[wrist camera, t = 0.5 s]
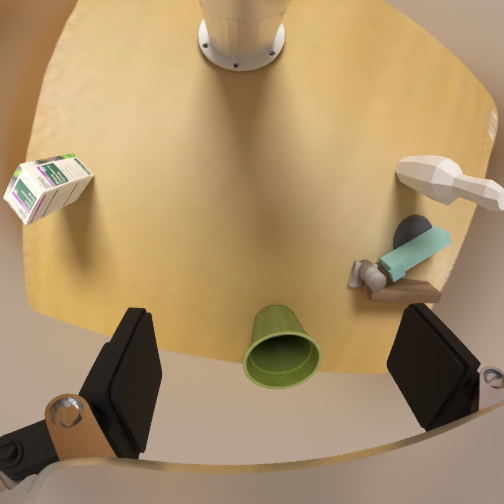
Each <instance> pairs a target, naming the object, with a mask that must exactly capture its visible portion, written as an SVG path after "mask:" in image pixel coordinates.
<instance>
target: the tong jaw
mask: <svg viewBox="0 0 504 504" xmlns="http://www.w3.org/2000/svg"><path fill="white" fill-rule="evenodd" d="M450 243H451V239H450V233H448V232H447V231H445V230H443V229H441V228H439V227H437V226H435V227H433V228H431V229H430V230H428V231H426V232H424V233H423V234H421V235H419V236H418V237H416V238H414V239H412V240H411V241H409V242H407V243H405V244H404V245H402V246H400V247H398V248H397V249H395V250H393V251H391V252H389V253H388V254H386V255H384V256H382V257H380V261H381V264H382V267H383V268H384V269H385V270H386V271H387V272H388V273H389V275H390V279H391V280H392V281H393V282H395V281H396V280H398V279H400V278H402V277H403V276H405V275H406V274H405V271H407V270H408V269H410V268H412V267H413V266H415V265H417V264H418V263H420V262H422V261H423V260H425V259H427V258H428V257H430V256H431V255H433V254H435V253H436V252H438V251H439V250H441V249H443V248H444V247H446V246H447V245H449V244H450Z"/></svg>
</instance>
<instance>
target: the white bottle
mask: <svg viewBox="0 0 504 504" xmlns="http://www.w3.org/2000/svg"><path fill="white" fill-rule="evenodd" d="M395 172H396V175H397V177H398V179H399V181H400V182H402V183H404V184H405V185H407V186H409V187H411V188H412V189H414V190H416V191H418V192H419V193H421V194H423V195H425V196H427V197H429V198H430V199H433V200H435V201H438V202H440V203H443V204H445V205H449V204H451V203H452V202H453V201H454V200H456V199H457V198H458V197H462V198H464V199H467V200H470V201H473V202H475V203H477V204H479V205H481V206H483V207H484V208H486V209H488V210H490V211H503V210H504V189H503V188H502V187H501V186H499V185H498V184H497V183H495V182H494V181H493V180H488V179H480V178H474V177H470V176H466V175H463V173H462V171H461V169H460V167H459V165H457V164H456V163H454V162H453V161H452V160H450V159H449V158H446V157H440V156H434V155H422V156H409V157H405V158H403V159H402V160H400V161H399V162H398V165H397V168H396V171H395Z"/></svg>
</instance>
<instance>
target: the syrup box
mask: <svg viewBox="0 0 504 504" xmlns="http://www.w3.org/2000/svg"><path fill="white" fill-rule="evenodd" d="M93 176H94V175H93V174H92V173H91V172H90V170H89V169H88V168H87V167H86V166H85V165H84V164H83V163H82V162H81V161H80V160H79V159H78V158H77V157H76V156H75V154H68V155H62V156H57V157H51V158H46V159H41V160H37V161H32V162H27V163H24V164H20V165H19V166H18V168H17V169H16V171H15V173H14V175H13V177H12V179H11V181H10V183H9V185H8V188H7V190H6V193H5V195H4V199H5V200H6V201H7V202H8V203H9V205H10V206H11V207H12V209H13V210H14V211H15V213H16V214H17V215H18V216H19V218H20V219H21V220H22V221H23V222H24V224H25V225H26V226H28V225H30V224H32V223H34V222H36V221H38V220H40V219H41V218H43V217H45V216H47V215H49V214H51V213H53V212H55V211H57V210H59V209H61V208H63V207H65V206H67V205H69V204H71V203H73V202H75V201H77V199H78V198H79V196H80V195H81V193H82V192H83V191H84V189H85V188H86V186H87V185H88V183H89V182H90V181H91V179H92V178H93Z"/></svg>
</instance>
